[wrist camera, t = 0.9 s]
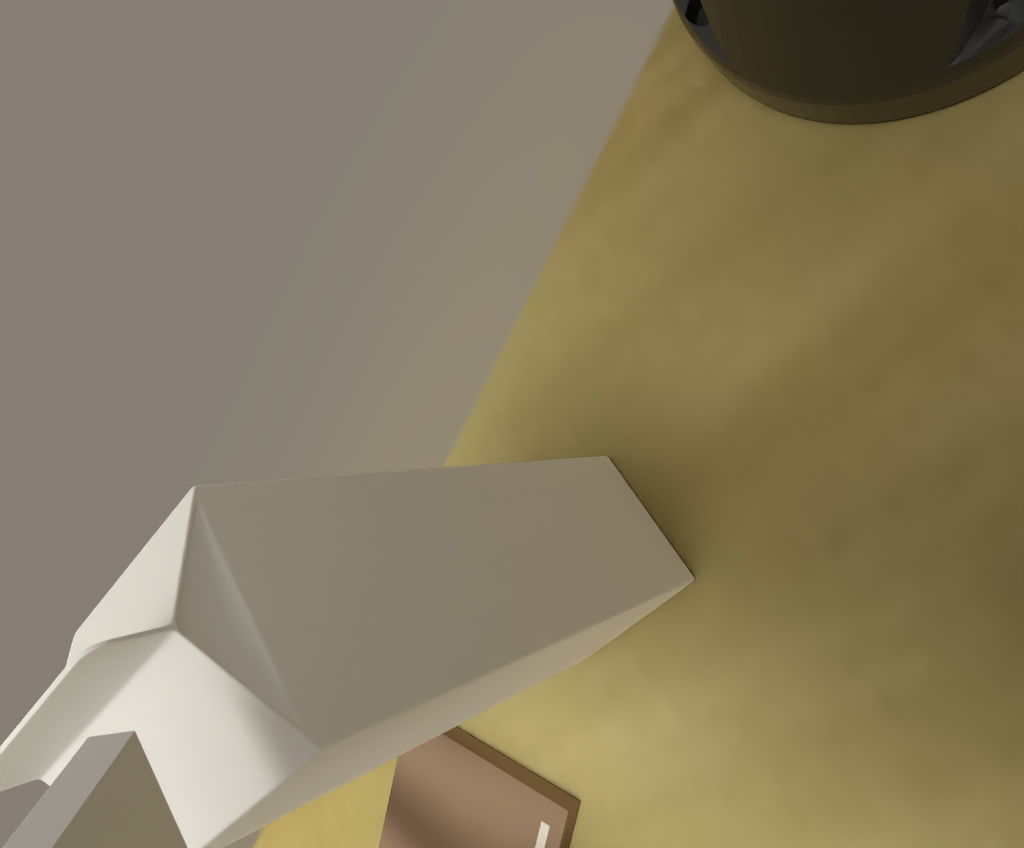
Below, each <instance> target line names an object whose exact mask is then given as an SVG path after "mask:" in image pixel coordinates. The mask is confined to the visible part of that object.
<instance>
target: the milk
mask: <svg viewBox="0 0 1024 848" xmlns="http://www.w3.org/2000/svg"><path fill="white" fill-rule="evenodd" d="M693 581H694V577H693V575H692V574H691V573H690V571H689V570H688V568H687V567H686V565H685V564H684V563H683V561H682V560H681V558H680V557H679V556H678V554H677V553H676V551H675V550H674V549H673V547H672V546H671V544H670V543H669V542H668V540H667V539H666V537H665V536H664V535H663V533H662V532H661V530H660V529H659V528H658V526H657V525H656V523H655V522H654V520H653V519H652V518H651V516H650V515H649V513H648V512H647V511H646V509H645V508H644V506H643V505H642V504H641V502H640V501H639V499H638V498H637V497H636V495H635V494H634V492H633V491H632V490H631V488H630V487H629V485H628V484H627V483H626V481H625V480H624V478H623V477H622V476H621V474H620V473H619V471H618V470H617V468H616V467H615V466H614V464H613V463H612V461H611V460H610V459H609V457H607V456H597V457H583V458H569V459H555V460H541V461H528V462H514V463H500V464H486V465H472V466H458V467H444V468H430V469H417V470H404V471H388V472H375V473H361V474H346V475H334V476H318V477H305V478H291V479H277V480H263V481H250V482H235V483H221V484H208V485H197V486H194V487H192V488H191V489H190V491H189V492H188V493H187V494H186V496H185V497H184V498H183V499H182V501H181V502H180V503H179V504H178V506H177V507H176V508H175V509H174V511H173V512H172V513H171V514H170V516H169V517H168V518H167V520H165V522H164V523H163V524H162V526H161V527H160V528H159V529H158V531H157V532H156V533H155V534H154V536H153V537H152V538H151V539H150V541H149V542H148V543H147V544H146V545H145V547H144V548H143V549H142V551H141V552H140V553H139V554H138V555H137V557H136V558H135V559H134V560H133V562H132V563H131V564H130V565H129V567H128V568H127V569H126V570H125V572H124V573H123V574H122V575H121V577H120V578H119V579H118V580H117V582H116V583H115V584H114V585H113V587H112V588H111V589H110V590H109V592H108V593H107V594H106V595H105V596H104V598H103V599H102V600H101V602H100V603H99V604H98V605H97V606H96V608H95V609H94V610H93V611H92V613H91V614H90V615H89V616H88V618H87V619H86V620H85V621H84V623H83V624H82V625H81V627H80V628H79V629H78V630H77V632H76V633H75V635H74V639H73V642H72V645H71V649H70V653H69V657H68V660H67V664H66V667H65V669H64V670H63V671H62V672H61V674H60V675H59V676H58V677H57V678H56V679H55V681H54V682H53V683H52V684H51V686H50V687H49V688H48V689H47V690H46V692H45V693H44V694H43V695H42V697H41V698H40V699H39V700H38V702H37V703H36V704H35V705H34V706H33V707H32V709H31V710H30V711H29V713H28V714H27V715H26V716H25V717H24V718H23V720H22V721H21V722H20V723H19V725H18V726H17V727H16V728H15V729H14V731H13V732H12V733H11V734H10V736H9V737H8V738H7V739H6V741H5V742H4V743H3V744H2V745H1V746H0V791H3V790H6V789H9V788H12V787H14V786H17V785H20V784H23V783H26V782H29V781H32V780H36V779H40V780H42V781H44V782H45V783H47V784H48V785H49V786H51V784H52V783H53V782H54V780H55V779H56V778H57V777H58V775H59V774H60V773H61V771H62V770H63V769H64V768H65V766H66V765H67V764H68V763H69V761H70V760H71V759H72V757H73V756H74V755H75V754H76V752H77V751H78V750H79V748H80V747H81V746H82V745H83V743H84V742H85V741H86V739H87V738H88V737H91V736H99V735H106V734H114V733H121V732H128V731H135V732H136V734H137V736H138V739H139V741H140V743H141V745H142V747H143V750H144V752H145V754H146V756H147V759H148V761H149V763H150V765H151V767H152V770H153V772H154V774H155V776H156V779H157V781H158V783H159V785H160V787H161V790H162V792H163V794H164V796H165V799H166V801H167V803H168V805H169V807H170V810H171V812H172V814H173V816H174V819H175V821H176V823H177V825H178V827H179V830H180V832H181V834H182V836H183V839H184V841H185V843H186V845H187V847H188V848H223V847H225V846H227V845H229V844H231V843H232V842H234V841H237V840H238V839H240V838H242V837H244V836H246V835H248V834H250V833H252V832H254V831H256V830H257V829H260V828H262V827H263V826H265V825H267V824H269V823H271V822H273V821H275V820H277V819H279V818H281V817H283V816H285V815H287V814H288V813H290V812H292V811H294V810H296V809H298V808H300V807H302V806H304V805H306V804H308V803H310V802H312V801H313V800H315V799H317V798H319V797H321V796H323V795H325V794H327V793H329V792H331V791H333V790H335V789H337V788H338V787H340V786H342V785H344V784H346V783H348V782H350V781H352V780H354V779H356V778H358V777H360V776H362V775H364V774H365V773H367V772H369V771H371V770H373V769H375V768H377V767H379V766H381V765H383V764H385V763H387V762H389V761H390V760H392V759H394V758H396V757H398V756H400V755H402V754H404V753H406V752H408V751H410V750H412V749H414V748H415V747H417V746H419V745H421V744H423V743H425V742H427V741H429V740H431V739H433V738H435V737H437V736H439V735H440V734H442V733H444V732H446V731H448V730H450V729H452V728H454V727H456V726H458V725H460V724H462V723H464V722H465V721H467V720H469V719H471V718H473V717H475V716H477V715H479V714H481V713H483V712H485V711H487V710H489V709H490V708H492V707H494V706H496V705H498V704H500V703H502V702H504V701H506V700H508V699H510V698H512V697H514V696H515V695H517V694H519V693H521V692H523V691H525V690H527V689H529V688H531V687H533V686H535V685H537V684H539V683H540V682H542V681H544V680H546V679H548V678H550V677H552V676H554V675H556V674H558V673H560V672H562V671H564V670H566V669H567V668H569V667H571V666H573V665H575V664H577V663H579V662H581V661H583V660H585V659H587V658H588V657H590V656H591V655H592V654H594V653H595V652H597V651H598V650H599V649H601V648H602V647H604V646H605V645H606V644H608V643H609V642H610V641H612V640H613V639H615V638H616V637H617V636H619V635H620V634H622V633H623V632H624V631H626V630H627V629H628V628H630V627H631V626H633V625H634V624H635V623H637V622H638V621H639V620H641V619H642V618H644V617H645V616H646V615H648V614H649V613H651V612H652V611H653V610H655V609H656V608H657V607H659V606H660V605H662V604H663V603H664V602H666V601H667V600H669V599H670V598H671V597H673V596H674V595H675V594H677V593H678V592H680V591H681V590H682V589H684V588H685V587H686V586H688V585H689V584H691V583H692V582H693Z"/></svg>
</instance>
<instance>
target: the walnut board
mask: <svg viewBox="0 0 1024 848" xmlns="http://www.w3.org/2000/svg"><path fill="white" fill-rule="evenodd" d="M579 805H580V801H579V800H578V799H576V798H574V797H573V796H571V795H569V794H568V793H566V792H564V791H563V790H561V789H559V788H558V787H556V786H554V785H553V784H551V783H549V782H548V781H546V780H544V779H543V778H541V777H539V776H538V775H536V774H534V773H533V772H531V771H529V770H528V769H526V768H524V767H523V766H521V765H519V764H518V763H516V762H514V761H513V760H511V759H509V758H508V757H506V756H504V755H503V754H501V753H499V752H498V751H496V750H494V749H493V748H491V747H489V746H488V745H486V744H484V743H483V742H481V741H479V740H478V739H476V738H474V737H473V736H471V735H469V734H468V733H466V732H464V731H463V730H461V729H459V728H458V727H454V728H452V729H450V730H448V731H446V732H444V733H442V734H440V735H439V736H437V737H435V738H433V739H431V740H429V741H427V742H425V743H423V744H421V745H419V746H417V747H415V748H414V749H412V750H410V751H408V752H406V753H404V754H402V755H400V756H398V759H397V764H396V769H395V774H394V778H393V783H392V788H391V793H390V797H389V802H388V807H387V812H386V816H385V821H384V826H383V831H382V835H381V840H380V845H379V848H569V845H570V841H571V837H572V833H573V829H574V825H575V821H576V817H577V813H578V809H579Z"/></svg>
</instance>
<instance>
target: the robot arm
mask: <svg viewBox="0 0 1024 848" xmlns="http://www.w3.org/2000/svg"><path fill="white" fill-rule="evenodd" d="M673 2H674V5H675V7H676V9H677V12H678V14H679V16H680V18H681V20H682V22H683V23H684V25H685V27H686V29H687V31H688V32H689V34H690V35H691V37H692V38H693V40H694V41H695V42H696V44H697V45H698V46H699V47H700V48H701V50H702V51H703V52H704V53H705V54H706V56H707V57H708V58H709V59H710V60H711V61H712V62H713V63H714V64H715V66H716V67H717V68H718V69H719V70H720V71H721V72H722V73H723V74H724V75H725V76H726V77H727V78H728V79H729V80H730V81H731V82H732V83H733V84H734V85H736V86H737V87H738V88H739V89H740V90H742V91H743V92H745V93H746V94H748V95H749V96H751V97H752V98H754V99H756V100H757V101H759V102H761V103H763V104H765V105H767V106H769V107H771V108H774V109H776V110H778V111H781V112H784V113H787V114H790V115H793V116H797V117H801V118H805V119H810V120H816V121H822V122H832V123H871V122H881V121H889V120H896V119H901V118H906V117H911V116H915V115H919V114H923V113H927V112H930V111H934V110H937V109H940V108H943V107H946V106H949V105H952V104H955V103H957V102H960V101H962V100H965V99H967V98H970V97H972V96H974V95H976V94H979V93H981V92H983V91H985V90H987V89H989V88H991V87H993V86H995V85H997V84H999V83H1001V82H1003V81H1005V80H1006V79H1008V78H1010V77H1012V76H1014V75H1015V74H1017V73H1019V72H1020V71H1022V70H1023V69H1024V0H673ZM3 848H188V847H187V845H186V843H185V841H184V839H183V836H182V834H181V832H180V830H179V827H178V825H177V823H176V821H175V819H174V816H173V814H172V812H171V810H170V807H169V805H168V803H167V801H166V799H165V796H164V794H163V792H162V790H161V787H160V785H159V783H158V781H157V779H156V776H155V774H154V772H153V770H152V767H151V765H150V763H149V761H148V759H147V756H146V754H145V752H144V750H143V747H142V745H141V743H140V741H139V739H138V736H137V734H136V732H135V731H128V732H121V733H114V734H106V735H99V736H91V737H88V738H87V739H86V741H85V742H84V743H83V745H82V746H81V747H80V748H79V750H78V751H77V752H76V754H75V755H74V756H73V757H72V759H71V760H70V761H69V763H68V764H67V765H66V766H65V768H64V769H63V770H62V771H61V773H60V774H59V775H58V777H57V778H56V779H55V780H54V782H53V783H52V784H51V786H50V787H49V788H48V790H47V791H46V792H45V793H44V795H43V796H42V797H41V799H40V800H39V801H38V802H37V804H36V805H35V806H34V808H33V809H32V810H31V811H30V813H29V814H28V815H27V817H26V818H25V819H24V820H23V822H22V823H21V824H20V825H19V827H18V828H17V829H16V831H15V832H14V833H13V834H12V836H11V837H10V838H9V840H8V841H7V842H6V843H5V845H4V846H3Z"/></svg>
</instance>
